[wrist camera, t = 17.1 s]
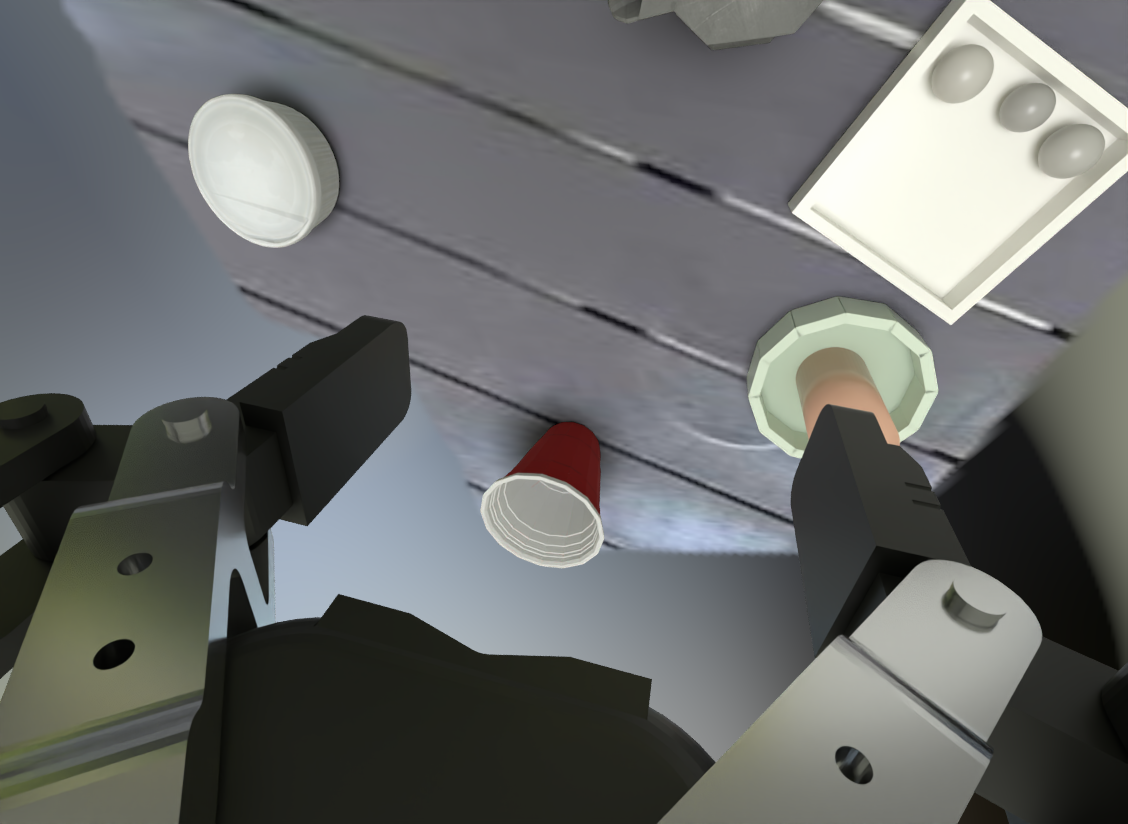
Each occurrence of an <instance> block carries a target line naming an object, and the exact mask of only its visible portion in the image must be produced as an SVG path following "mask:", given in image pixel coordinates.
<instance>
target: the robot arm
mask: <svg viewBox="0 0 1128 824" xmlns="http://www.w3.org/2000/svg"><path fill="white" fill-rule="evenodd" d="M410 400H411V381H410V366H409V351H408V337H407V331H406V328H405V326H404V324H403V323H401V322H398V321H393V320H388V319H383V318H377V317H372V316H366V315H364V316H361V317H360V318H358V319H357V320H355V321H354V322H352V323H351V324H350V325H348V326H347V327H345V328H344V329H342V330H341V331H340V332H338V333H337V334H334V335H331V336H328V337H326V338H323V339H320V340H317V341H314V342H311V343H309V344H308V345H306V346H305V347H303V348H302V349H301V350H299V351H298V352H296V353H295V354H293V355H292V358H287V359H286V360H284V361H283V362H281V363H280V364H278V365H277V369H276V368H273V369H271V370H270V371H268V372H267V373H265V374H264V375H262V376H261V377H259V378H258V379H256V380H255V381H253V382H252V383H250V384H249V385H248V386H246V387H244V388H243V389H242V390H240V391H239V392H237V393H236V394H234V395H233V396H231V397H230V398H228V399H227V400H225V399H221V398H214V397H195V398H186V399H181V400H177V401H173V402H169V403H166V404H163V405H161V406H158V407H156V408H154V409H152V410H150V411H148V412H147V413H145V414H144V415H142V416H141V417H140V418H139V419H137V421H136V422H135V423H134V424H133V425H93V424H92V422H91V420H90V418H89V415H88V413H87V411H86V409H85V407H84V404H83V402H82V401H81V400H80V399H78V398H76V397H74V396H71V395H67V394H55V393H53V394H52V393H49V394H36V395H29V396H24V397H19V398H15V399H11V400H7V401H4V402H1V403H0V508H1V507H4V508H5V510H6V512H7V513H8V515H9V517H10V518H11V520H12V522H13V523H14V525H15V526H16V528H17V530H18V531H19V533H20V535H21V536H22V538H23V539H22V540H21V541H20V542H18V543H17V544H16V545H14V546H13V547H12V548H10V549H9V550H7V551H6V552H5V553H3V554H2V555H1V556H0V679H1V678H2V677H3V676H4V675H5V674H6V673H7V672H8V671H9V670H11V669H12V668H13V670H12V673H11V675H10V678H9V680H8V683H7V686H6V689H5V691H4V694H3V696H2V699H1V701H0V824H957V823H958V821H959V819H960V817H961V815H962V813H963V811H964V809H965V808H966V806H967V804H968V802H969V800H970V798H971V796H972V794H973V793H974V792H975V793H977V794H979V795H980V796H982V797H984V798H986V799H987V800H989V801H991V802H993V803H995V804H996V805H998V806H1000V807H1001V808H1003V809H1005V811H1006V814H1007V817H1008V821H1009V823H1010V824H1128V663H1127V664H1126V665H1125V666H1124V667H1122V668H1121V669H1120V670H1119V671H1117V670H1115V669H1113V668H1111V667H1108V666H1106V665H1104V664H1102V663H1099V662H1097V661H1095V660H1093V659H1090V658H1088V657H1086V656H1083V655H1081V654H1079V653H1077V652H1075V651H1072V650H1070V649H1068V648H1065V647H1063V646H1061V645H1059V644H1057V643H1055V642H1052V641H1050V640H1048V639H1046V638H1044V637H1042V631H1041V628H1040V625H1039V622H1038V620H1037V619H1036V617H1035V615H1034V614H1033V612H1032V611H1031V610H1030V608H1029V607H1028V606H1027V605H1026V604H1025V603H1024V601H1023V600H1022V599H1021V598H1020V597H1018V596H1017V595H1016V594H1015V593H1014V592H1013V591H1012V590H1010V589H1009V588H1007V587H1006V586H1005V585H1004V584H1002V583H1001V582H999V581H997V580H996V579H994V578H992V577H991V576H989V575H987V574H985V573H984V572H982V571H979V570H977V569H975V568H973V567H971V566H970V564H969V562H968V559H967V557H966V555H965V554H964V551H963V549H962V547H961V546H960V543H959V541H958V539H957V537H956V535H955V533H954V531H953V529H952V527H951V525H950V524H949V521H948V519H947V517H946V515H945V513H944V511H943V510H940V506H941V505H940V503H939V501H938V499H937V497H936V495H935V493H934V492H932V491H931V489H932V487H931V485H930V483H929V481H928V479H927V477H926V475H925V473H924V471H923V469H922V467H921V466H920V465H919V464H918V463H917V462H916V461H915V460H914V459H913V458H912V457H911V456H910V455H909V454H908V453H907V452H906V451H904V450H903V449H902V448H901V447H900V446H898V445H893V444H888V443H887V441H886V439H885V437H884V434H883V432H882V430H881V428H880V425H879V423H878V421H877V418H876V416H875V414H874V413H873V412H869V411H863V410H858V409H853V408H847V407H842V406H837V405H832V404H826V405H825V406H824V407H823V409H822V410H821V412H820V414H819V416H818V418H817V421H816V423H815V426H814V428H813V431H812V433H811V436H810V438H809V441H808V443H807V446H806V448H805V451H804V453H803V456H802V458H801V461H800V463H799V466H798V468H797V471H796V474H795V477H794V480H793V485H792V491H791V509H792V516H793V522H794V528H795V535H796V541H797V548H798V554H799V561H800V567H801V573H802V579H803V586H804V593H805V599H806V605H807V612H808V618H809V625H810V631H811V637H812V644H813V650H814V656H815V658H816V659H815V660H814V661H813V662H812V663H811V664H810V666H808V668H806V669H805V671H804V672H803V673H802V674H801V675H800V676H799V677H798V678H797V679H796V680H795V681H794V682H793V683H792V684H791V685H790V686H789V687H788V688H787V689H786V691H784V692H783V694H781V696H779V698H778V699H777V700H776V701H775V702H774V703H773V704H772V705H771V706H770V707H769V708H768V709H767V710H766V711H765V712H764V713H763V714H762V715H761V716H760V717H759V719H757V721H756V722H754V723H753V725H752V726H751V727H750V728H749V729H748V730H747V731H746V732H745V733H744V734H743V735H742V736H741V737H740V738H739V739H738V740H737V741H736V742H735V743H734V744H733V745H732V746H731V747H730V748H729V749H728V751H726V753H725V754H724V755H723V756H722V757H721V758H720V759H719V760H718V761H717V762H715V761H714V760H713V759H712V758H711V757H710V756H709V755H708V753H707V752H706V751H705V750H704V749H703V748H702V747H701V746H700V745H699V744H698V743H697V742H696V741H695V740H694V739H693V738H691V737H690V736H689V735H688V734H687V733H686V732H685V731H684V730H683V729H681V728H680V727H679V726H677V725H676V724H675V723H673V722H672V721H670V720H669V719H668V718H666V717H665V716H664V715H662V714H660V713H659V712H657V711H655V710H654V709H652V708H650V707H649V700H650V691H651V682H652V679H649V678H645V677H642V676H638V675H634V674H631V673H627V672H623V671H619V670H616V669H612V668H609V667H605V666H601V665H598V664H593V663H590V662H586V661H583V660H579V659H576V658H572V657H556V656H522V655H521V656H519V655H489V654H482V653H478V652H476V651H474V650H472V649H470V648H469V647H467V646H465V645H463V644H462V643H460V642H458V641H457V640H455V639H453V638H451V637H450V636H448V635H446V634H445V633H443V632H441V631H439V630H438V629H436V628H434V627H433V626H431V625H429V624H427V623H426V622H424V621H422V620H420V619H419V618H417V617H415V616H414V615H412V614H410V613H406V612H403V611H399V610H395V609H391V608H388V607H384V606H381V605H377V604H373V603H370V602H366V601H362V600H358V599H355V598H351V597H347V596H344V595H340V594H338V595H337V597H336V598H335V599H334V601H333V602H332V604H331V605H330V606H329V608H328V609H327V611H326V612H325V613H324V615H323V616H322V617H321V618H319V617H317V618H316V617H315V618H304V619H294V620H288V621H283V622H277V623H276V621H275V579H274V578H275V577H274V541H273V536H272V532H271V527H272V526H273V525H274V524H275V523H276V522H277V521H278V520H279V519H281V520H285V521H289V522H293V523H297V524H301V525H305V526H308V525H309V524H310V523H311V522H312V521H313V519H314V518H315V517H316V516H317V515H318V514H319V513H320V512H321V511H322V509H323V508H324V507H325V506H326V505H327V504H328V503H329V502H330V500H331V499H332V498H333V497H334V496H335V495H336V494H337V493H338V491H339V490H340V489H341V488H342V487H343V486H344V485H345V484H346V483H347V481H348V480H349V479H350V478H351V477H352V476H353V475H354V474H355V473H356V471H357V470H358V469H359V468H360V467H361V466H362V465H363V464H364V463H365V461H366V460H367V459H368V458H369V457H370V456H371V455H372V454H373V453H374V451H375V450H376V449H377V448H378V447H379V446H380V445H381V443H382V442H383V441H384V440H385V439H386V438H387V437H388V436H389V435H390V434H391V432H392V431H393V430H394V429H395V428H396V427H397V426H398V425H399V423H400V422H401V421H402V420H403V419H404V417H405V415H406V413H407V411H408V408H409V404H410Z"/></svg>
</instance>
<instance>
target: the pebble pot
mask: <svg viewBox="0 0 1128 824" xmlns="http://www.w3.org/2000/svg"><path fill="white" fill-rule="evenodd" d="M796 386H797V390H798V395H799V399H800V404H801V408H802V413H803V417H804V421H805V426H806V430H807V435H808V439H809V438H810V436H811V433H812V431H813V428H814V426H815V423H816V421H817V418H818V416H819V414H820V412H821V410H822V409H823V407H824V406H825V405H826V404H832V405H837V406H842V407H847V408H853V409H858V410H863V411H869V412H873V413H874V414H875V416H876V418H877V421H878V423H879V425H880V428H881V430H882V432H883V434H884V437H885V439H886V441H887V443H888V444H893V445H898V446H900V438H899V434H898V431H897V429H896V427H895V425H894V423H893V421H892V419H891V416H890V414H889V412H888V410H887V408H886V406H885V404H884V402H883V400H882V397H881V395H880V393H879V391H878V389H877V387H876V385H875V383H874V380H873V378H872V376H871V374H870V372H869V370H868V368H867V366H866V364H865V362H864V360H863V359H862V358H861V357H860V356H859V355H858V354H857V353H855V352H854V351H852V350H849V349H846V348H840V347H830V348H825V349H821V350H818V351H816V352H814V353H812V354H811V355H809V356H808V357H807V358H806V359H805V360H804V361H803V362H802V363H801V365H800V366H799V368H798V370H797V373H796Z"/></svg>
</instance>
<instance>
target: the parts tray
mask: <svg viewBox="0 0 1128 824" xmlns="http://www.w3.org/2000/svg"><path fill="white" fill-rule="evenodd" d="M1127 171H1128V108H1126V107H1125V106H1124V105H1123V104H1121V103H1120V102H1119V101H1118V100H1116V99H1115V98H1114V97H1112V96H1111V95H1110V94H1109V93H1107V92H1106V91H1105V90H1104V89H1102V88H1101V87H1100V86H1098V85H1097V84H1096V83H1095V82H1093V81H1092V80H1091V79H1089V78H1088V77H1087V76H1086V75H1084V74H1083V73H1082V72H1081V71H1079V70H1078V69H1077V68H1075V67H1074V66H1073V65H1072V64H1070V63H1069V62H1068V61H1066V60H1065V59H1064V58H1063V57H1061V56H1060V55H1059V54H1058V53H1056V52H1055V51H1054V50H1052V49H1051V48H1050V47H1049V46H1047V45H1046V44H1045V43H1043V42H1042V41H1041V40H1040V39H1038V38H1037V37H1036V36H1035V35H1033V34H1032V33H1031V32H1029V31H1028V30H1027V29H1026V28H1024V27H1023V26H1022V25H1021V24H1019V23H1018V22H1017V21H1015V20H1014V19H1013V18H1012V17H1010V16H1009V15H1008V14H1006V13H1005V12H1004V11H1003V10H1001V9H1000V8H999V7H998V6H996V5H995V4H994V3H992V2H991V1H990V0H952V1H951V2H950V3H949V4H948V6H947V7H946V8H945V9H944V11H943V12H942V13H941V14H940V16H939V17H938V18H937V19H936V20H935V22H934V23H933V24H932V25H931V27H930V28H929V29H928V30H927V32H926V33H925V34H924V35H923V37H922V38H921V39H920V40H919V42H918V43H917V44H916V45H915V46H914V48H913V49H912V50H911V51H910V53H909V54H908V55H907V56H906V58H905V59H904V60H903V61H902V63H901V64H900V65H899V66H898V68H897V69H896V70H895V71H894V72H893V74H892V75H891V76H890V77H889V79H888V80H887V81H886V82H885V84H884V85H883V86H882V87H881V89H880V90H879V91H878V92H877V94H876V95H875V96H874V97H873V98H872V100H871V101H870V102H869V103H868V105H867V106H866V107H865V108H864V110H863V111H862V112H861V113H860V115H859V116H858V117H857V118H856V119H855V121H854V122H853V123H852V124H851V126H850V127H849V128H848V129H847V131H846V132H845V133H844V134H843V136H842V137H841V138H840V139H839V141H838V142H837V143H836V144H835V145H834V147H833V148H832V149H831V150H830V152H829V153H828V154H827V155H826V157H825V158H824V159H823V160H822V162H821V163H820V164H819V165H818V167H817V168H816V169H815V170H814V171H813V173H812V174H811V175H810V176H809V178H808V179H807V180H806V181H805V183H804V184H803V185H802V186H801V188H800V189H799V190H798V191H797V193H796V194H795V195H794V196H793V197H792V199H791V200H790V201H789V202H788V205H789V208H790V210H791V212H792V213H793V214H795V215H796V216H797V217H799V218H800V219H802V220H803V221H804V222H806V223H807V224H809V225H810V226H812V227H813V228H814V229H816V230H817V231H819V232H820V233H821V234H823V235H824V236H826V237H827V238H829V239H830V240H831V241H833V242H834V243H836V244H837V245H838V246H840V247H841V248H843V249H844V250H845V251H847V252H848V253H850V254H851V255H853V256H854V257H855V258H857V259H858V260H860V261H861V262H862V263H864V264H865V265H867V266H868V267H870V268H871V269H872V270H874V271H875V272H877V273H878V274H879V275H881V276H882V277H884V278H885V279H887V280H888V281H889V282H891V283H892V284H894V285H895V286H896V287H898V288H899V289H901V290H902V291H904V292H905V293H906V294H908V295H909V296H911V297H912V298H913V299H915V300H916V301H918V302H919V303H920V304H922V305H923V306H925V307H926V308H928V309H929V310H930V311H932V312H933V313H935V314H936V315H937V316H939V317H940V318H942V319H943V320H945V321H946V322H947V323H949V324H950V325H952V324H953V323H954V322H955V321H956V320H957V319H958V318H960V317H961V316H962V315H963V314H964V313H965V312H966V311H968V310H969V309H970V308H971V307H972V306H973V305H974V304H976V303H977V302H978V301H979V300H980V299H981V298H982V297H984V296H985V295H986V294H987V293H988V292H989V291H991V290H992V289H993V288H994V287H995V286H996V285H997V284H999V283H1000V282H1001V281H1002V280H1003V279H1004V278H1005V277H1007V276H1008V275H1009V274H1010V273H1011V272H1012V271H1013V270H1015V269H1016V268H1017V267H1018V266H1019V265H1020V264H1021V263H1023V262H1024V261H1025V260H1026V259H1027V258H1028V257H1030V256H1031V255H1032V254H1033V253H1034V252H1035V251H1036V250H1038V249H1039V248H1040V247H1041V246H1042V245H1043V244H1044V243H1046V242H1047V241H1048V240H1049V239H1050V238H1051V237H1052V236H1054V235H1055V234H1056V233H1057V232H1058V231H1059V230H1060V229H1062V228H1063V227H1064V226H1065V225H1066V224H1067V223H1069V222H1070V221H1071V220H1072V219H1073V218H1074V217H1075V216H1077V215H1078V214H1079V213H1080V212H1081V211H1082V210H1083V209H1085V208H1086V207H1087V206H1088V205H1089V204H1090V203H1091V202H1093V201H1094V200H1095V199H1096V198H1097V197H1098V196H1099V195H1101V194H1102V193H1103V192H1104V191H1105V190H1106V189H1108V188H1109V187H1110V186H1111V185H1112V184H1113V183H1114V182H1116V181H1117V180H1118V179H1119V178H1120V177H1121V176H1122V175H1124V174H1125V173H1126V172H1127Z"/></svg>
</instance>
